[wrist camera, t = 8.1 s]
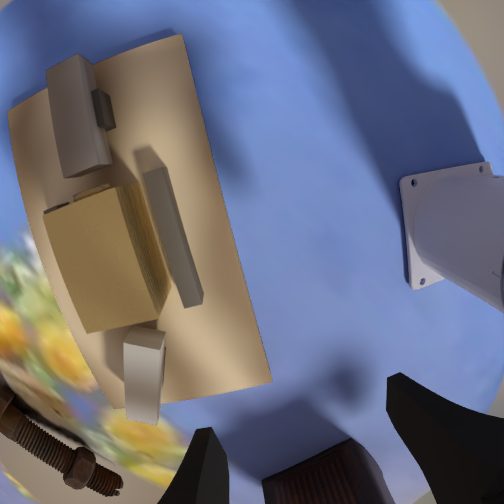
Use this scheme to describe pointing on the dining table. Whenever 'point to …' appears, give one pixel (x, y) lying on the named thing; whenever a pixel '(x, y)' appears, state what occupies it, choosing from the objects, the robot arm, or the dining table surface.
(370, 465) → the brown manual coffee grinder
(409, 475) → the dining table surface
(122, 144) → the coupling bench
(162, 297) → the block
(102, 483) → the bolt
